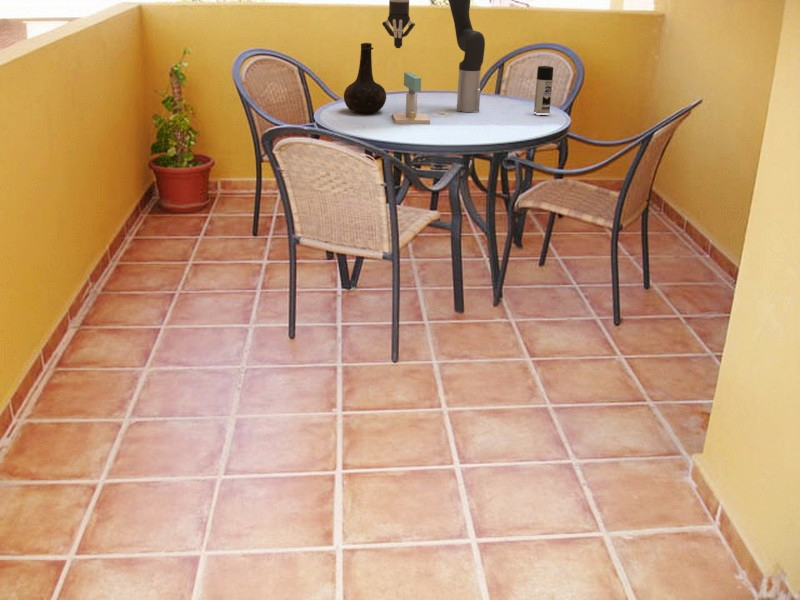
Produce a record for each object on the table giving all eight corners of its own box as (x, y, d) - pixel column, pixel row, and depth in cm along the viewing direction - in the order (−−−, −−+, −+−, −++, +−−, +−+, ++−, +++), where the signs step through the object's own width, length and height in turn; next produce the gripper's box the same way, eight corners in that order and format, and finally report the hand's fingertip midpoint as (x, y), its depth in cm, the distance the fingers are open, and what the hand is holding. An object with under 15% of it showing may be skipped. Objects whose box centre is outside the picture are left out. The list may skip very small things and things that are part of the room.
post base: (425, 117, 349) (426, 91, 345) (430, 124, 337) (431, 97, 332) (392, 116, 348) (392, 90, 344) (395, 123, 335) (396, 96, 331)
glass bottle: (346, 116, 345) (347, 45, 334) (341, 108, 361) (341, 40, 350) (389, 116, 349) (391, 46, 338) (382, 107, 365) (383, 40, 354)
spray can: (542, 116, 358) (546, 68, 350) (530, 114, 362) (534, 66, 354) (552, 115, 362) (557, 67, 354) (540, 112, 366) (545, 65, 358)
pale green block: (403, 90, 344) (404, 72, 341) (409, 90, 345) (410, 72, 342) (414, 96, 331) (414, 78, 328) (420, 96, 332) (421, 78, 329)
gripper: (379, 0, 316) (379, 48, 323) (414, 1, 313) (412, 50, 320) (384, -1, 323) (384, 45, 330) (418, 0, 320) (417, 47, 327)
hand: (398, 47), depth 325 cm, fingers closed
